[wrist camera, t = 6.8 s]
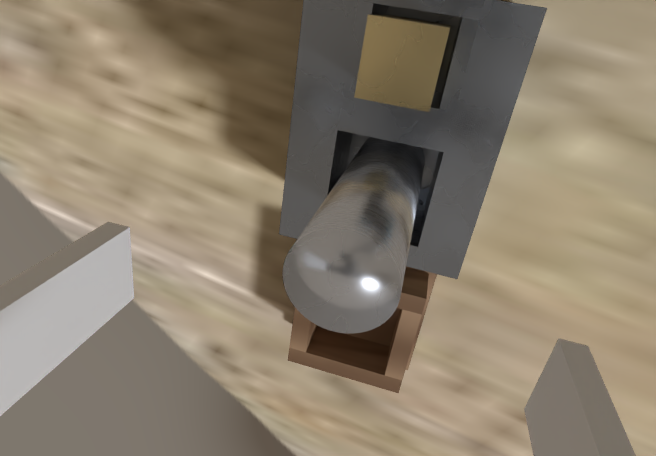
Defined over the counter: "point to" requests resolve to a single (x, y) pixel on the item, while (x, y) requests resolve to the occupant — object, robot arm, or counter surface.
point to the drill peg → (358, 241)
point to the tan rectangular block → (401, 61)
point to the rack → (368, 340)
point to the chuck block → (409, 113)
